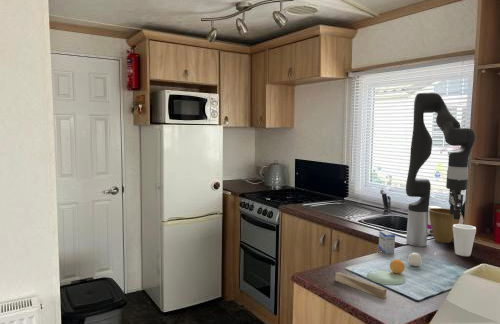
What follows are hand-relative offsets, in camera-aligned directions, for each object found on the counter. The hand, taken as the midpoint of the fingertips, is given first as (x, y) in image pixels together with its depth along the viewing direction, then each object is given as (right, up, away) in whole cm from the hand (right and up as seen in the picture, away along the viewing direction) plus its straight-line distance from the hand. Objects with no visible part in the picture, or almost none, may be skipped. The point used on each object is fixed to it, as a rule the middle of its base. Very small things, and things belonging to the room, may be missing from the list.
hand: (454, 216), depth 159 cm
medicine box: (-19, -20, +25) cm, 37 cm away
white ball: (-14, -19, +4) cm, 24 cm away
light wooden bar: (-45, -23, -20) cm, 54 cm away
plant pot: (+17, -19, +43) cm, 49 cm away
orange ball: (-25, -19, -4) cm, 32 cm away
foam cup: (+15, -21, +22) cm, 33 cm away
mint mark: (-31, -22, -9) cm, 40 cm away
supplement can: (+19, -18, +58) cm, 63 cm away
